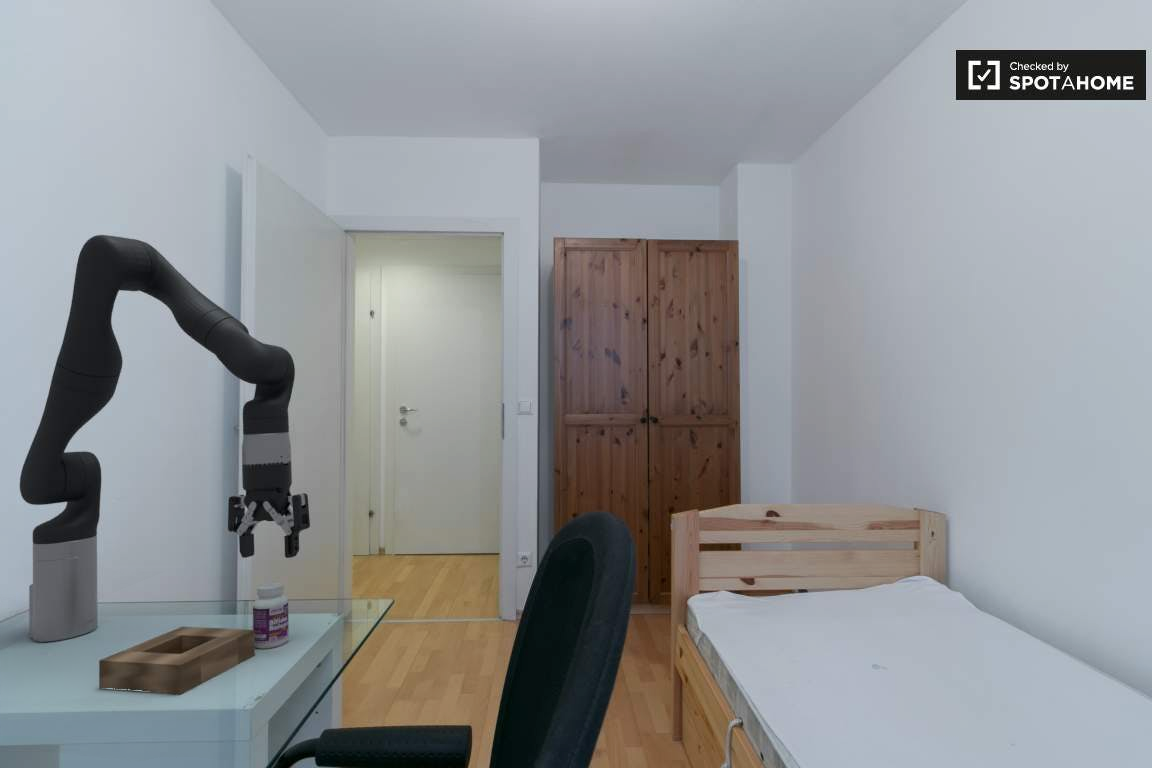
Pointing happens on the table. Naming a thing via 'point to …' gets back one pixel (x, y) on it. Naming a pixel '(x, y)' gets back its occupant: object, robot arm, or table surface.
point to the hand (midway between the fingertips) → (269, 556)
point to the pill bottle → (270, 616)
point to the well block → (177, 660)
